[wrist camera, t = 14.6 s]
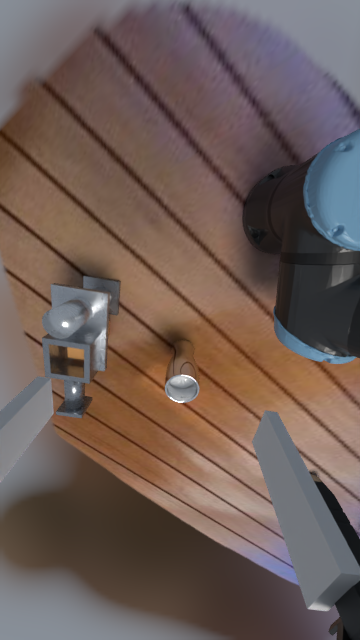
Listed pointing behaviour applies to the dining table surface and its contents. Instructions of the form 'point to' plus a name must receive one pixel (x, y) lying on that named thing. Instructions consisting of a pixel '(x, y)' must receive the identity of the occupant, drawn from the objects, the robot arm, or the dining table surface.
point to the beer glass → (182, 373)
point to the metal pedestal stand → (83, 311)
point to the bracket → (73, 368)
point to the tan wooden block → (78, 351)
